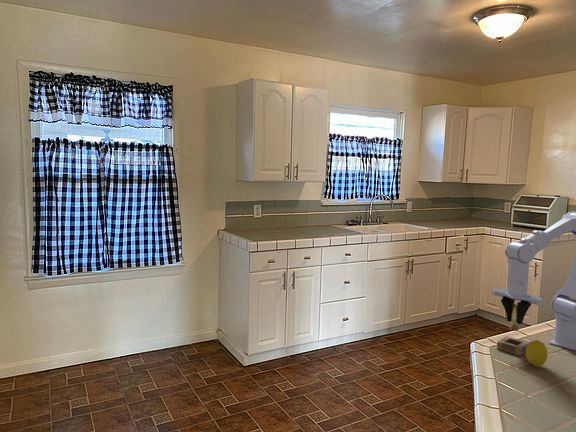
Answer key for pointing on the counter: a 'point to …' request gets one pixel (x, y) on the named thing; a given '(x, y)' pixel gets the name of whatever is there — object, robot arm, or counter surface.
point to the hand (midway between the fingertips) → (514, 322)
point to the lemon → (536, 353)
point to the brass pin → (514, 318)
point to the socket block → (512, 345)
